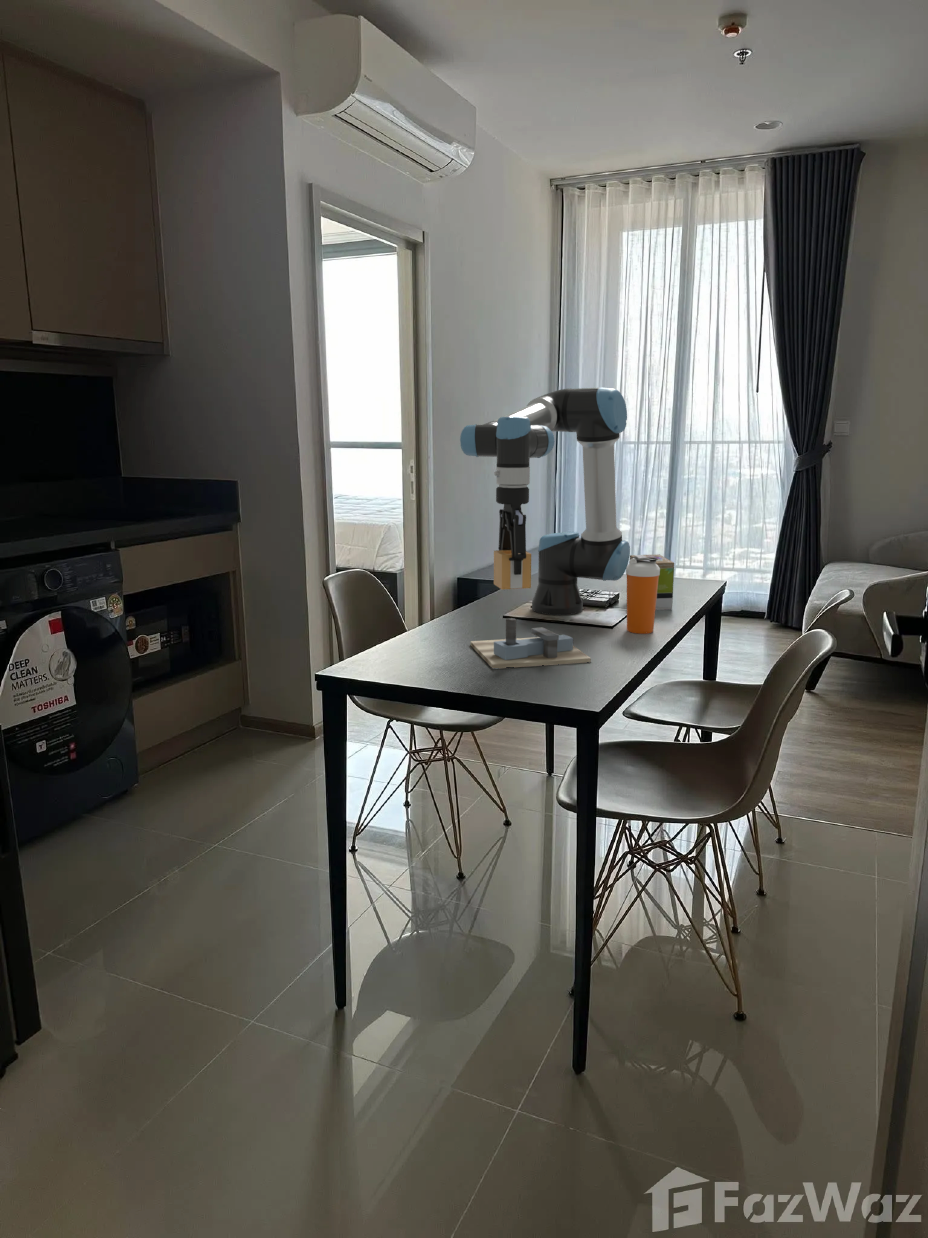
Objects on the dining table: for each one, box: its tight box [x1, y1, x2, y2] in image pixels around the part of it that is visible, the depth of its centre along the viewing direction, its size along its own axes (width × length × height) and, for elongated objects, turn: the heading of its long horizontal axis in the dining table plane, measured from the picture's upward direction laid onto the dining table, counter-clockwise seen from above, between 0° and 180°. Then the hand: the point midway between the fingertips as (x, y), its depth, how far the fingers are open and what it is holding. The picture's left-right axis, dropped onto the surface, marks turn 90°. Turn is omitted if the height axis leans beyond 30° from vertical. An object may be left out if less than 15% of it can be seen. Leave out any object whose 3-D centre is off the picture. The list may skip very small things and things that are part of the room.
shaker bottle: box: [625, 556, 660, 635], centre depth 235 cm, size 9×9×20 cm
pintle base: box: [469, 617, 592, 669], centre depth 214 cm, size 22×24×10 cm
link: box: [494, 634, 574, 660], centre depth 211 cm, size 19×6×3 cm, turn 115°
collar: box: [493, 549, 532, 591], centre depth 204 cm, size 7×7×8 cm
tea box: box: [629, 554, 675, 611], centre depth 267 cm, size 15×10×15 cm, turn 5°
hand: (511, 584), depth 204 cm, fingers closed on collar, 7 cm apart
